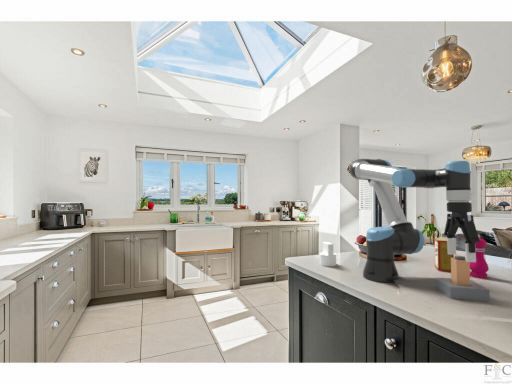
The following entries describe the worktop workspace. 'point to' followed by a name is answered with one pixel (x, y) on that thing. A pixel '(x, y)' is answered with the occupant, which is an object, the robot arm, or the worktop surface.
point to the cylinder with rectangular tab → (328, 255)
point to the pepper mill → (479, 261)
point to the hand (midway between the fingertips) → (460, 258)
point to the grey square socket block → (462, 290)
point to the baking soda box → (442, 255)
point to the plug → (460, 271)
